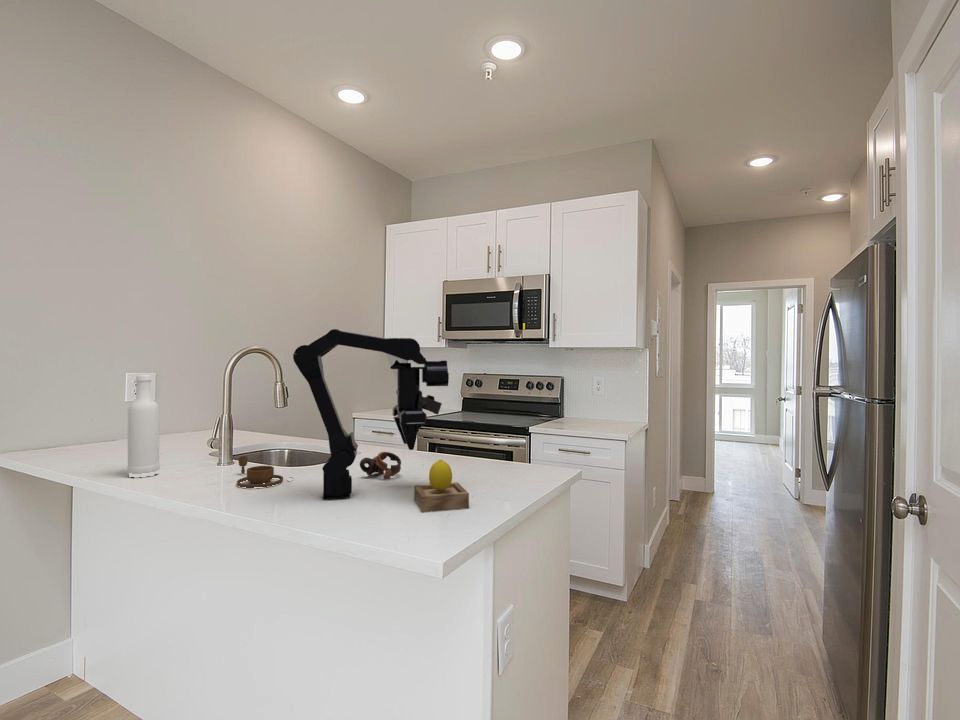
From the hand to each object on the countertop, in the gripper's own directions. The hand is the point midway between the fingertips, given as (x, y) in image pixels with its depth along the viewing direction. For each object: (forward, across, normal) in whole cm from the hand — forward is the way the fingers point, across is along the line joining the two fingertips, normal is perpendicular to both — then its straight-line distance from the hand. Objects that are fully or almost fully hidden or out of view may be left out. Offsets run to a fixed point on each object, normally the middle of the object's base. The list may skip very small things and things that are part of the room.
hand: (408, 446), depth 131 cm
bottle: (+12, +42, +73) cm, 85 cm away
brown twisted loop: (+12, +20, +5) cm, 24 cm away
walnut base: (+12, -12, -6) cm, 18 cm away
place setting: (+13, +26, +38) cm, 48 cm away
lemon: (+10, -12, -6) cm, 16 cm away
